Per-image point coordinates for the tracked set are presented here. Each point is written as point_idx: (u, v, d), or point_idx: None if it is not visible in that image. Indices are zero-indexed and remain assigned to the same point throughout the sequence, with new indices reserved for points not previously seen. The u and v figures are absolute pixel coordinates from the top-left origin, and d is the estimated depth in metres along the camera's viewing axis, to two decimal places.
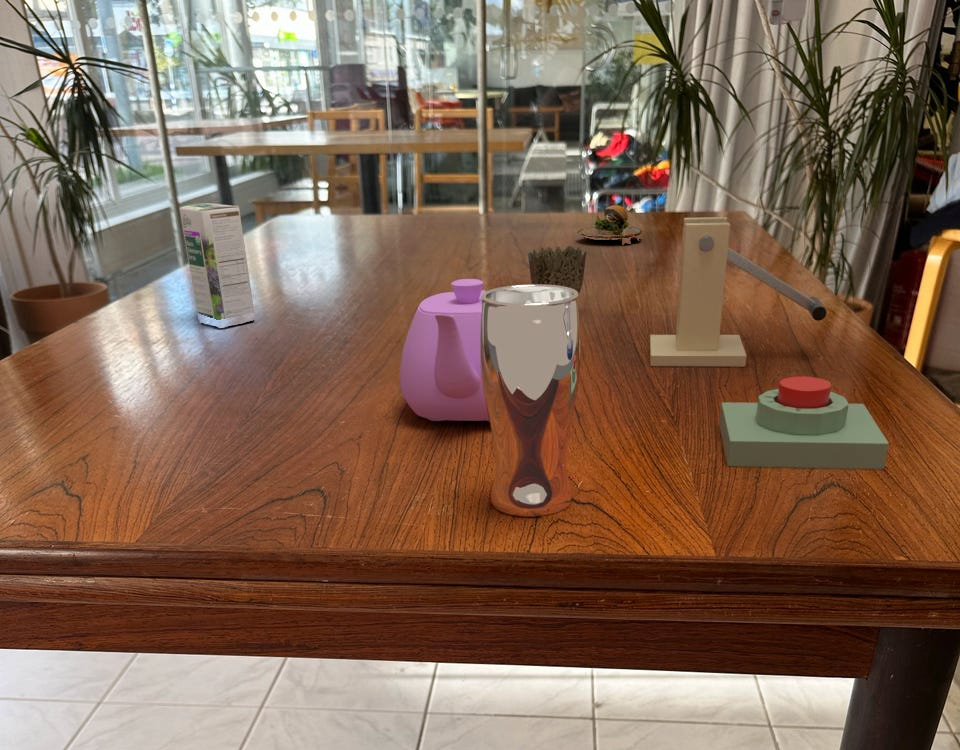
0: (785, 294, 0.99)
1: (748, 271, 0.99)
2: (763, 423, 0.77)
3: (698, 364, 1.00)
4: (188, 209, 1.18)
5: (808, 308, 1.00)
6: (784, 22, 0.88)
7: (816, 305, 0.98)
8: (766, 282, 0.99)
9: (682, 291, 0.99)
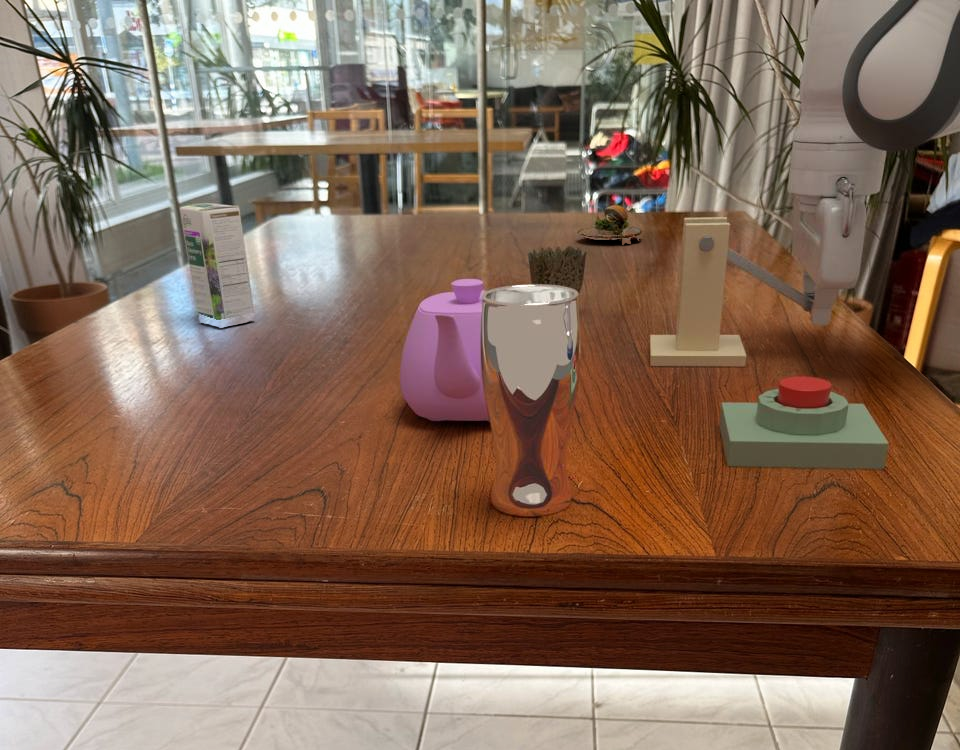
0: (785, 294, 0.99)
1: (748, 271, 0.99)
2: (763, 423, 0.77)
3: (698, 364, 1.00)
4: (188, 209, 1.18)
5: (808, 308, 1.00)
6: None
7: None
8: (766, 282, 0.99)
9: (682, 291, 0.99)
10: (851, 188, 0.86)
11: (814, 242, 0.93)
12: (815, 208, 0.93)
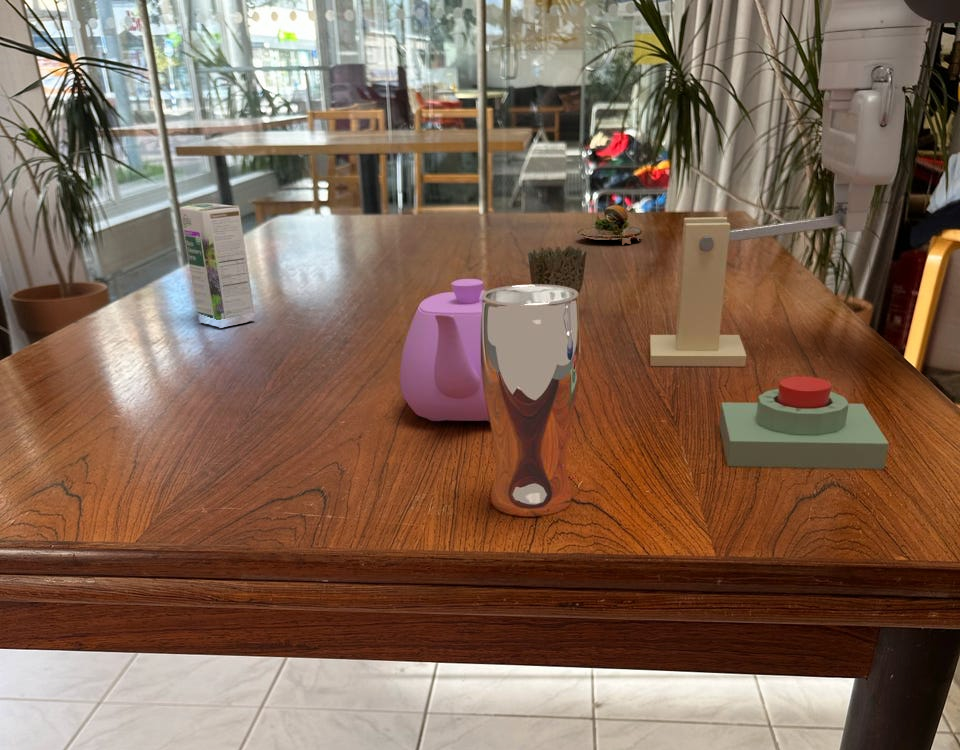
0: (809, 229, 0.96)
1: (761, 236, 0.97)
2: (763, 423, 0.77)
3: (698, 364, 1.00)
4: (188, 209, 1.18)
5: (839, 224, 0.95)
6: None
7: (844, 218, 0.94)
8: (784, 232, 0.96)
9: (682, 291, 0.99)
10: (889, 72, 0.81)
11: (848, 139, 0.88)
12: (849, 103, 0.88)
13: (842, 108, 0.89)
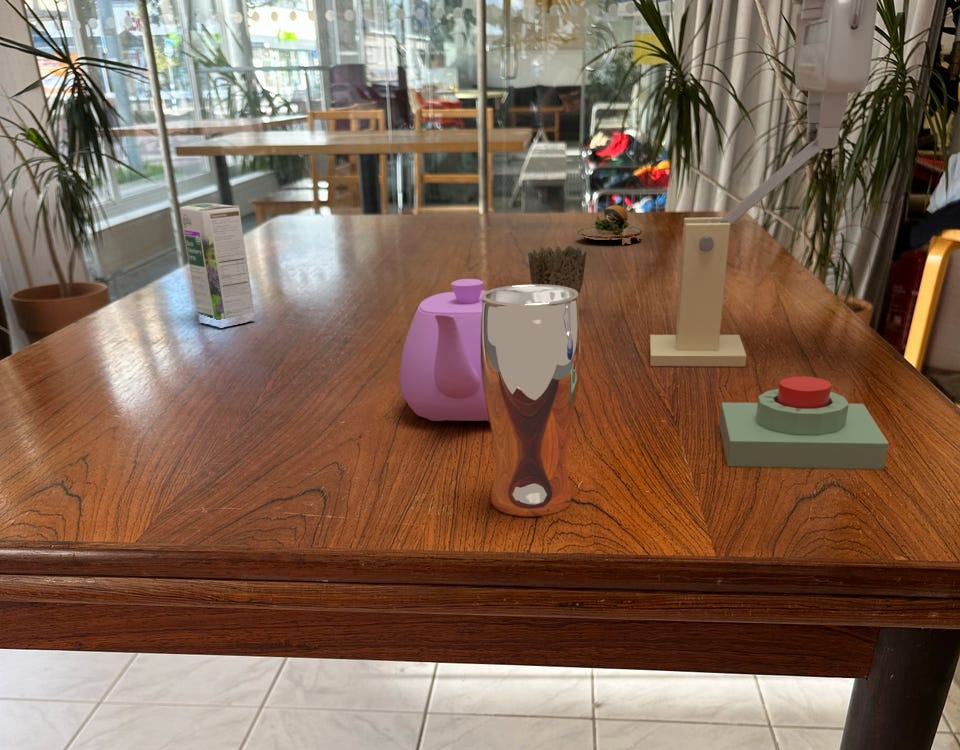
0: (794, 169, 0.93)
1: (753, 203, 0.95)
2: (763, 423, 0.77)
3: (698, 364, 1.00)
4: (188, 209, 1.18)
5: None
6: None
7: None
8: (773, 187, 0.94)
9: (682, 291, 0.99)
10: None
11: (819, 49, 0.85)
12: (820, 11, 0.85)
13: (813, 17, 0.85)
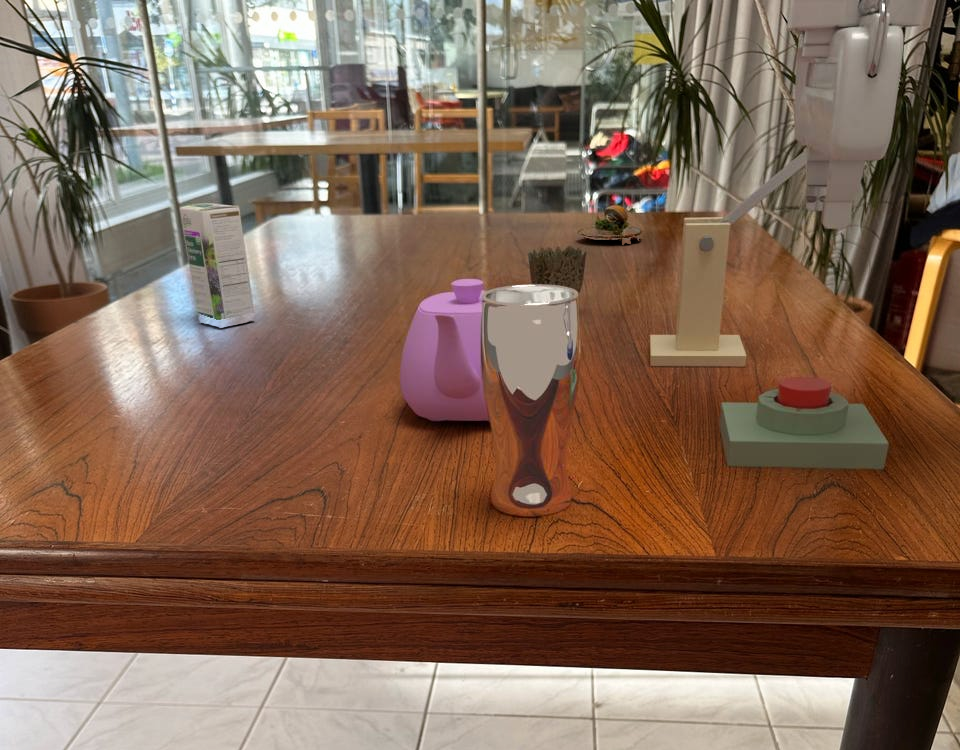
0: (795, 171, 0.93)
1: (754, 204, 0.95)
2: (763, 423, 0.77)
3: (698, 364, 1.00)
4: (188, 209, 1.18)
5: None
6: (821, 209, 0.75)
7: None
8: (773, 188, 0.94)
9: (682, 291, 0.99)
10: None
11: (825, 98, 0.64)
12: (827, 48, 0.64)
13: (818, 55, 0.65)
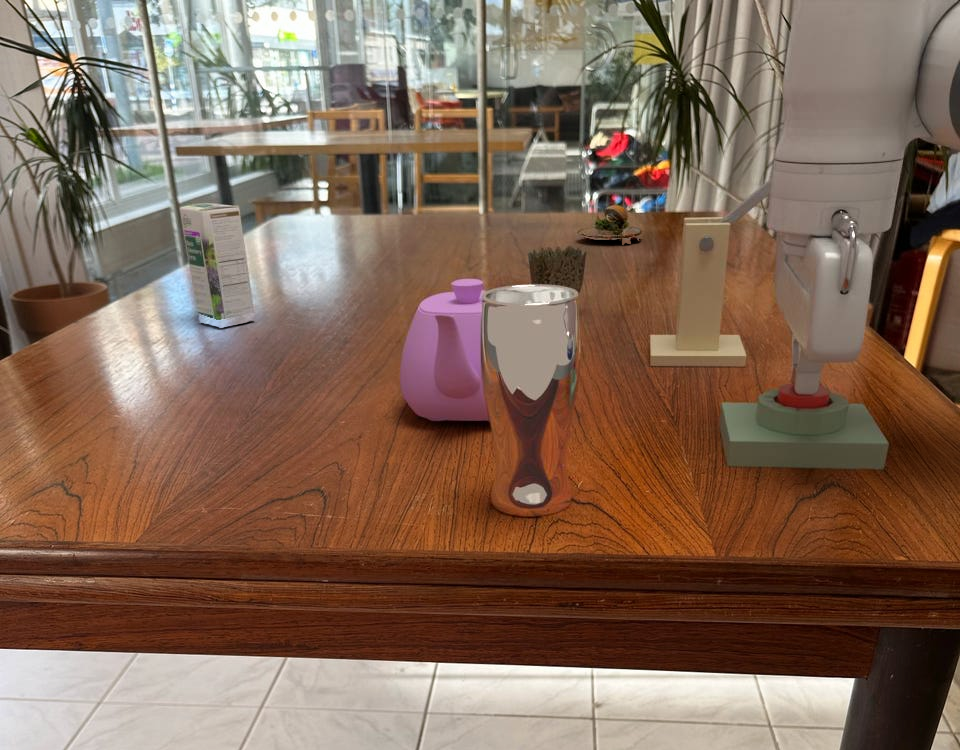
0: None
1: (754, 204, 0.95)
2: (763, 423, 0.77)
3: (698, 364, 1.00)
4: (188, 209, 1.18)
5: None
6: None
7: None
8: None
9: (682, 291, 0.99)
10: (852, 227, 0.62)
11: (802, 296, 0.69)
12: (803, 250, 0.69)
13: (795, 254, 0.69)
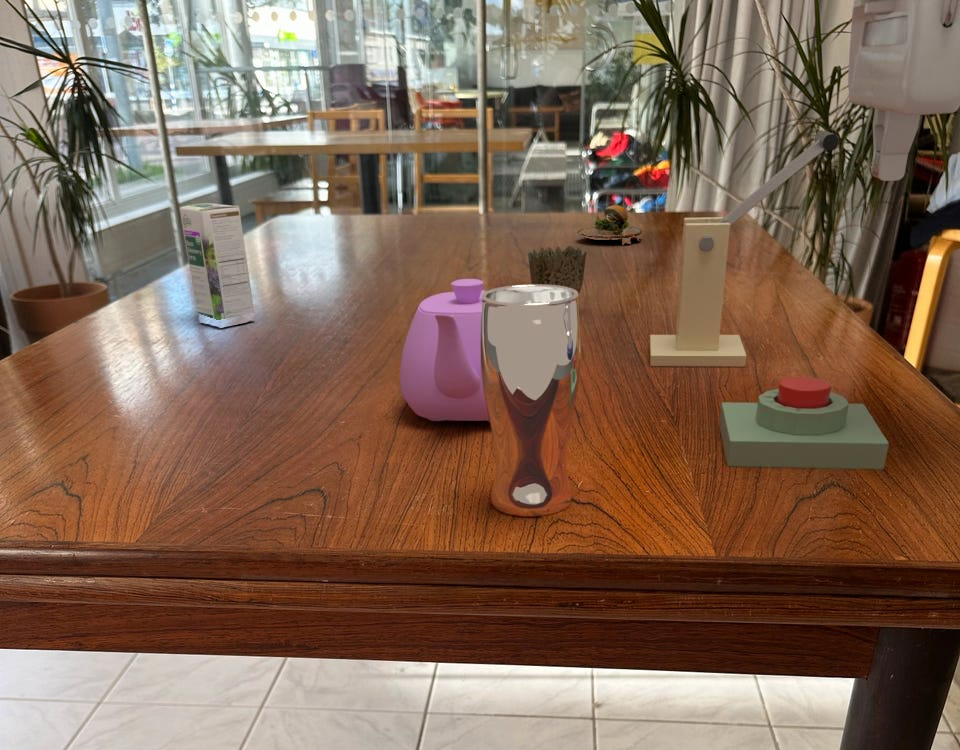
0: (795, 171, 0.93)
1: (754, 204, 0.95)
2: (763, 423, 0.77)
3: (698, 364, 1.00)
4: (188, 209, 1.18)
5: (821, 149, 0.92)
6: None
7: (821, 142, 0.91)
8: (773, 188, 0.94)
9: (682, 291, 0.99)
10: None
11: (892, 53, 0.63)
12: (893, 2, 0.63)
13: (883, 10, 0.64)
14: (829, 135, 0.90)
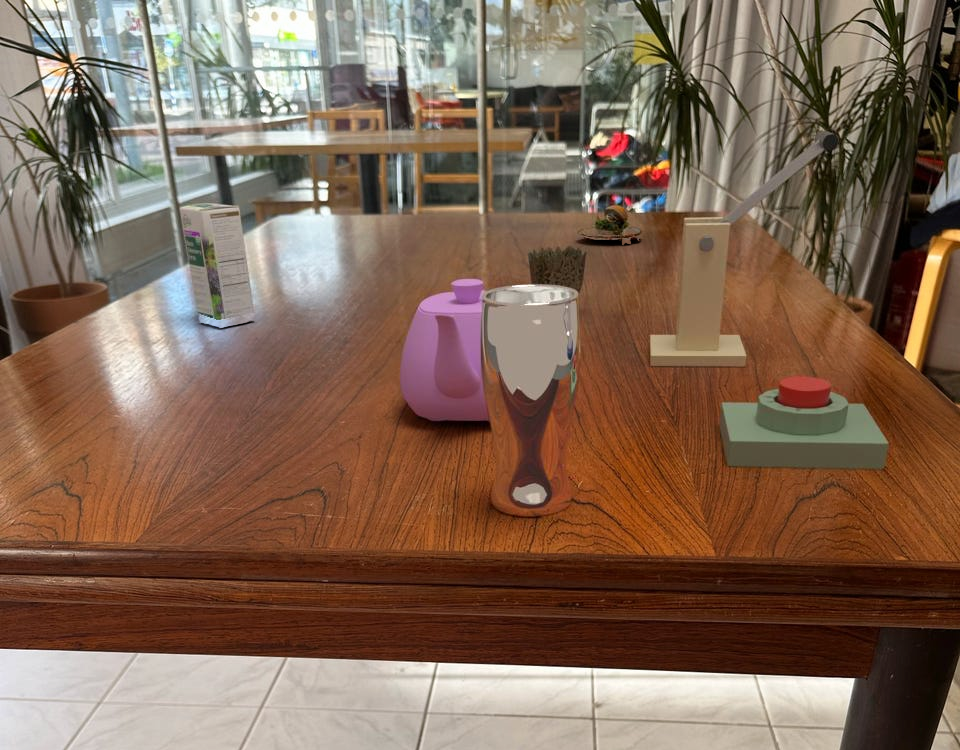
0: (795, 171, 0.93)
1: (754, 204, 0.95)
2: (763, 423, 0.77)
3: (698, 364, 1.00)
4: (188, 209, 1.18)
5: (821, 149, 0.92)
6: None
7: (821, 142, 0.91)
8: (773, 188, 0.94)
9: (682, 291, 0.99)
10: None
11: None
12: None
13: None
14: (829, 135, 0.90)
